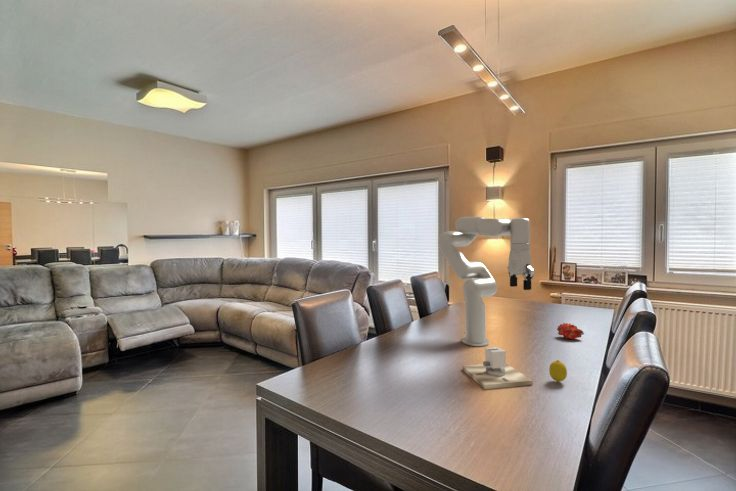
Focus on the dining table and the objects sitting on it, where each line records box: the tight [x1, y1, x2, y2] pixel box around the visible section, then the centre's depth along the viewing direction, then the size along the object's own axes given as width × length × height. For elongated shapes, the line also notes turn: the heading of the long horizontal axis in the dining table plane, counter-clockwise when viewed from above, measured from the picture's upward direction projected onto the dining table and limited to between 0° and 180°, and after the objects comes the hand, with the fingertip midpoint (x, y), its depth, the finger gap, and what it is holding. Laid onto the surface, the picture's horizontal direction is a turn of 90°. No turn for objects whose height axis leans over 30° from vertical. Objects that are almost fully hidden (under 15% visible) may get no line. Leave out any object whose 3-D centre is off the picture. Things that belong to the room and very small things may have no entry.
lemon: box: [548, 359, 568, 384], centre depth 125 cm, size 6×6×8 cm
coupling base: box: [461, 363, 534, 390], centre depth 130 cm, size 18×18×4 cm
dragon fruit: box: [556, 322, 585, 341], centre depth 176 cm, size 8×8×12 cm
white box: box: [482, 346, 507, 369], centre depth 130 cm, size 7×5×6 cm
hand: (520, 288), depth 148 cm, fingers open, 9 cm apart
